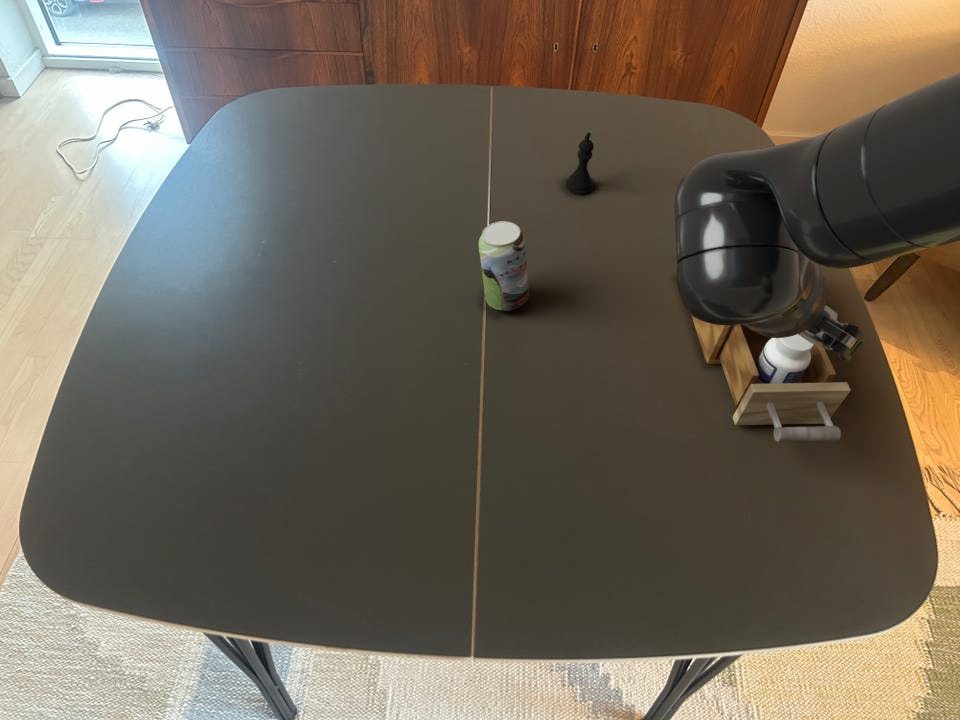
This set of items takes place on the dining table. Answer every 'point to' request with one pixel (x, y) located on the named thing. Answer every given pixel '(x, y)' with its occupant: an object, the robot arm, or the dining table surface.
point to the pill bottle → (783, 360)
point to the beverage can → (504, 266)
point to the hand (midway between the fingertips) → (794, 314)
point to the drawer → (781, 390)
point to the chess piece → (582, 170)
